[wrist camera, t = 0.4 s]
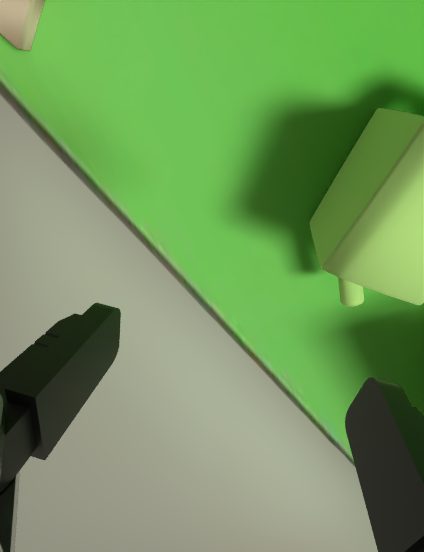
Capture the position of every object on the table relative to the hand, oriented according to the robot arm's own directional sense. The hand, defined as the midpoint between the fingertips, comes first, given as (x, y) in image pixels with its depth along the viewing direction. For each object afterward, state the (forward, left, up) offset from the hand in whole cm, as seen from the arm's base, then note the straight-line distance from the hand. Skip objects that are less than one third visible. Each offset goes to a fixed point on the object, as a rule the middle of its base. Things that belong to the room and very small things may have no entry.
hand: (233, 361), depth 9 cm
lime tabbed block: (-6, +8, -23) cm, 25 cm away
